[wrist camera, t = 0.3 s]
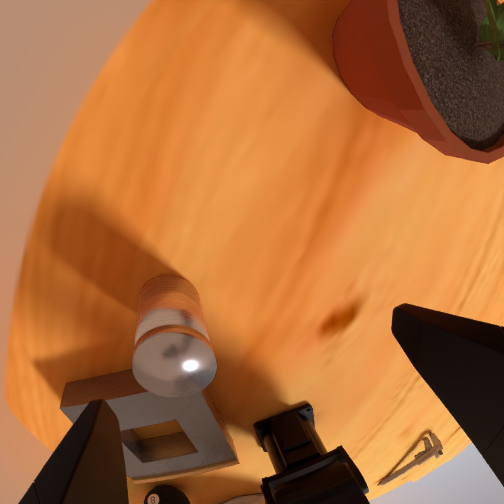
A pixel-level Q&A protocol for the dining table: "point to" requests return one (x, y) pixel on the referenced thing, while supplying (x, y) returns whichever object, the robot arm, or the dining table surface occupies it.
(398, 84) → the potted plant
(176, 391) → the grey cylinder
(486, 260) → the dining table surface
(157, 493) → the billiard ball
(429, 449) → the caliper
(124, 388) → the jig
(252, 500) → the ceramic pitcher
